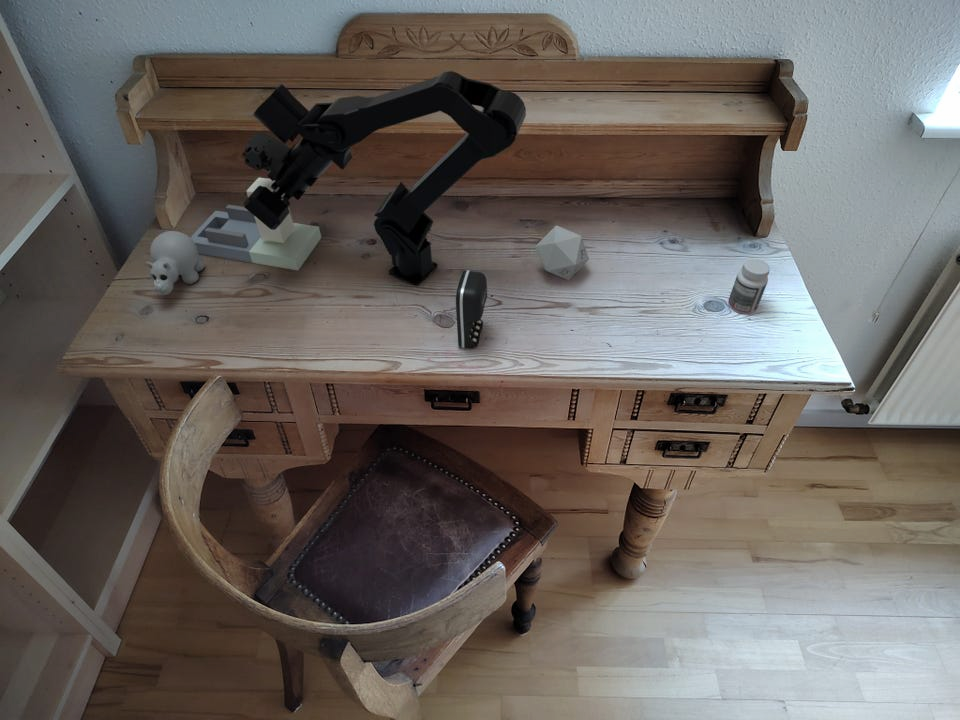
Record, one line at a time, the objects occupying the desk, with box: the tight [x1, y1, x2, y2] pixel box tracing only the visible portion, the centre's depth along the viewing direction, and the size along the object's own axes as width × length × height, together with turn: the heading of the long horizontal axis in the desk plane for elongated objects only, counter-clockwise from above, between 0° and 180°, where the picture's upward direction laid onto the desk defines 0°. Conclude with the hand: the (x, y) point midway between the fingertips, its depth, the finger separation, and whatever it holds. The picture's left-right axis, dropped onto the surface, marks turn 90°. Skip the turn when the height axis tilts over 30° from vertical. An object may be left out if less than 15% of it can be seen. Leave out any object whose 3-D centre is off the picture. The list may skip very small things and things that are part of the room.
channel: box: [189, 204, 322, 271], centre depth 121 cm, size 22×10×5 cm, turn 75°
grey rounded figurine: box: [145, 230, 206, 296], centre depth 112 cm, size 8×12×9 cm, turn 176°
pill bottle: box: [727, 257, 771, 315], centre depth 107 cm, size 5×5×8 cm
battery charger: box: [455, 269, 488, 349], centre depth 102 cm, size 7×4×11 cm, turn 170°
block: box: [245, 177, 295, 243], centre depth 116 cm, size 4×4×10 cm
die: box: [534, 225, 590, 281], centre depth 115 cm, size 8×9×10 cm
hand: (264, 209), depth 116 cm, fingers closed on block, 4 cm apart
